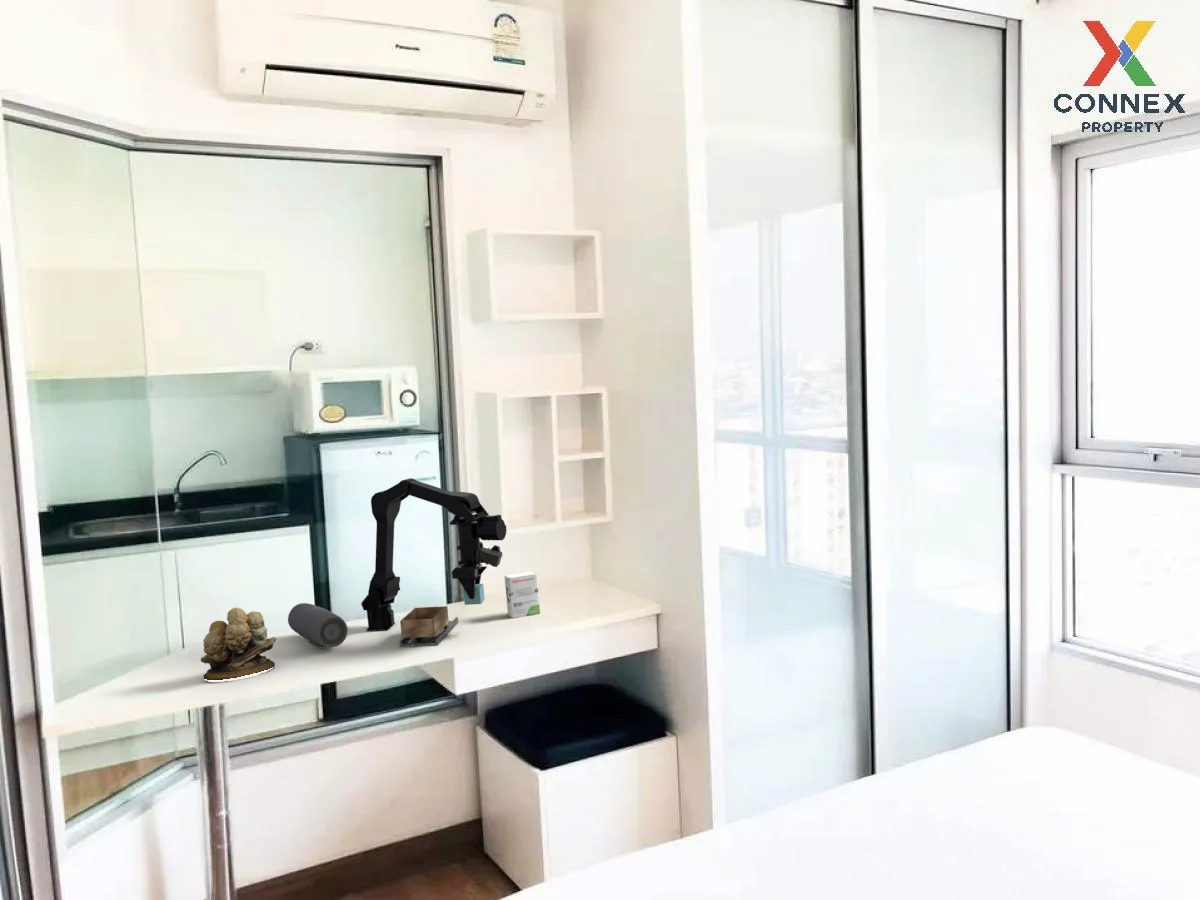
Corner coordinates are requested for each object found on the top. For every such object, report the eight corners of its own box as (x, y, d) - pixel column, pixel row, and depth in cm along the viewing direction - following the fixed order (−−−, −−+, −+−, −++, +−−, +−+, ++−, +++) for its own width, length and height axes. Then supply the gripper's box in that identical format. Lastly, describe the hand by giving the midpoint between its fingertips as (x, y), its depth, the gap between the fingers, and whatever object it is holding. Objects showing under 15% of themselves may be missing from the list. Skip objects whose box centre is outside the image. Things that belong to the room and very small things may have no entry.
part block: (464, 604, 262) (463, 588, 261) (468, 600, 266) (467, 584, 266) (480, 604, 261) (479, 587, 261) (484, 599, 265) (483, 583, 265)
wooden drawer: (402, 642, 256) (400, 620, 255) (417, 628, 269) (415, 607, 268) (435, 640, 255) (434, 619, 254) (449, 626, 268) (447, 606, 267)
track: (399, 646, 256) (399, 640, 255) (423, 624, 276) (422, 618, 276) (438, 645, 254) (437, 639, 254) (458, 622, 275) (458, 617, 275)
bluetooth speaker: (352, 647, 258) (348, 611, 257) (318, 656, 253) (314, 618, 252) (320, 632, 276) (316, 597, 275) (287, 639, 271) (284, 604, 270)
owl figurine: (275, 660, 252) (268, 596, 251) (282, 672, 242) (275, 605, 240) (201, 674, 244) (193, 608, 242) (205, 687, 234) (198, 618, 232)
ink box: (535, 609, 283) (532, 570, 282) (540, 613, 278) (537, 573, 277) (507, 614, 280) (503, 574, 279) (512, 618, 275) (508, 578, 274)
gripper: (490, 545, 252) (495, 604, 253) (505, 532, 270) (510, 586, 272) (448, 548, 253) (454, 606, 254) (466, 534, 271) (471, 588, 273)
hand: (474, 596), depth 263 cm, fingers closed on part block, 4 cm apart
